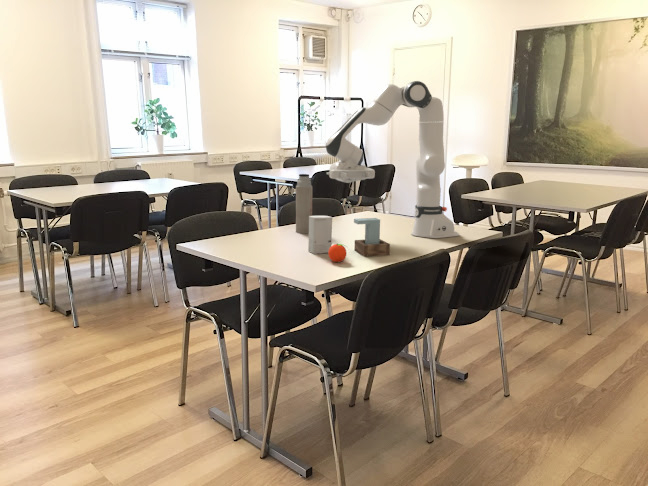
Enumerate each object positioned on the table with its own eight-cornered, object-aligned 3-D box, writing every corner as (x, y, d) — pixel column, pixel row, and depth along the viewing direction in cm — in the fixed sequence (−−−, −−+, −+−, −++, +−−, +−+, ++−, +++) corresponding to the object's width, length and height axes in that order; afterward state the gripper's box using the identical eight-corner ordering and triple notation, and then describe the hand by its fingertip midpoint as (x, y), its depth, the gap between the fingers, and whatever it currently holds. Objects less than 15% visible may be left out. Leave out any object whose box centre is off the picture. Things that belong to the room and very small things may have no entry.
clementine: (347, 259, 208) (348, 241, 206) (350, 264, 201) (350, 245, 200) (327, 260, 207) (327, 241, 206) (329, 264, 200) (329, 245, 199)
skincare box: (313, 254, 216) (313, 217, 213) (307, 251, 222) (307, 215, 218) (332, 252, 219) (332, 216, 216) (326, 249, 225) (326, 214, 222)
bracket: (374, 248, 222) (375, 217, 219) (379, 251, 218) (380, 219, 215) (353, 250, 219) (354, 218, 217) (357, 252, 215) (357, 220, 213)
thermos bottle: (313, 230, 266) (314, 173, 260) (310, 233, 258) (310, 175, 252) (298, 229, 268) (298, 173, 262) (294, 232, 260) (293, 174, 254)
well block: (379, 249, 226) (379, 238, 225) (389, 255, 216) (390, 244, 215) (354, 250, 223) (354, 240, 222) (364, 256, 213) (364, 245, 212)
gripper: (325, 165, 240) (334, 168, 227) (368, 165, 245) (379, 167, 232) (325, 180, 241) (334, 183, 228) (367, 179, 247) (379, 182, 234)
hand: (357, 175), depth 230 cm, fingers open, 8 cm apart
